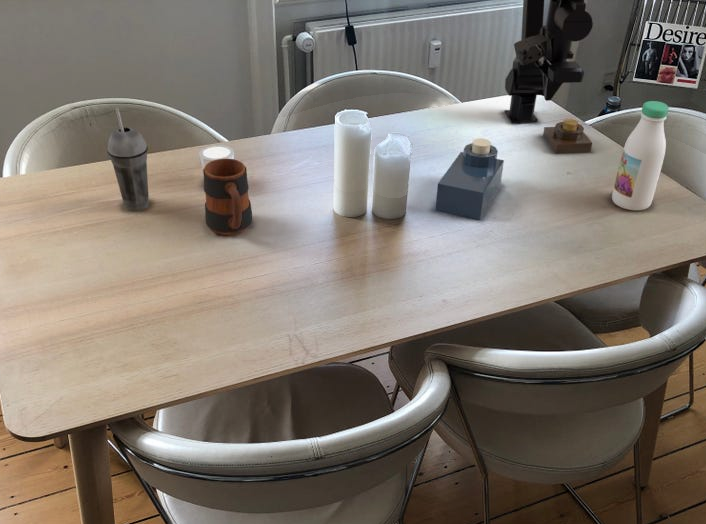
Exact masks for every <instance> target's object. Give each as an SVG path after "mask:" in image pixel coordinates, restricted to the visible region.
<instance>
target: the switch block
mask: <svg viewBox="0 0 706 524" xmlns="http://www.w3.org/2000/svg"><path fill="white" fill-rule="evenodd" d="M562 125H563V121H560V122H556V123H555V125H554V126H544V127H543V133H542V137H543V138H544V140H545V141H546V143H547V144H548V146H549V147H550V148H551V149H552V151H553V152H554V154H556V155H557V154H578V153H579V154H580V153H591V152H592V148H593V142H592V140H591V139H590V138H589V137H588V136H587V134H586V133H585V132H584V131H585V128H584V126H583V125H582V124H580V123H578V125H577V130H575V131H568V130H564V129H562Z"/></svg>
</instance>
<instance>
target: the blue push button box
mask: <svg viewBox="0 0 706 524" xmlns="http://www.w3.org/2000/svg"><path fill="white" fill-rule="evenodd" d="M498 153H499V151H498V148H497V147H495V146H494V145H492V144H491V147H490V153H489V154H481V155H480V154H475V153H473V152H472V142H471V143H469V144H466V145H465V146H464V147H463V151H460V152H459V154H458V155H457V157H456V158H455V159H454V160H453V162H452V163H451V164H450V166H449V168H447V170H446V172H444V174H443V176H442V177H441V179H440V180H439V181H438V182H437V189H436V200H435V209H434V210H435V211H436V212H441V213H446V214H450V215H454V216H459V217H464V218H468V219H472V220H473V219H474V220H476V221H477V220H478V221H481V220H482V218H483V216H484V215H485V213H486V211H487V210H488V207H489V206H490V204H491V203H492V201H493V199H494V197H495V196H496V194H497V192H498V191H499V190H500V188H501V182H502V177H503V170H504V163H505V159H499V158H498Z"/></svg>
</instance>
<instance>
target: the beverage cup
mask: <svg viewBox="0 0 706 524" xmlns="http://www.w3.org/2000/svg"><path fill="white" fill-rule="evenodd" d="M115 113H116V115H117V121H118V125H119V128H117V129H116V130H114V131H113V132H112V133H111V135H110V136H109V138H108V143H107V154H108V156H109V159H110V162H111V163H112V167H113V170H114V173H115V177H116V181H117V184H118V188H119V192H120V196H121V200H122V201H123V205H124V208H125V209H126V210H128V211H130V212H140V211H144V210H145V209H147V208H149V205H150V204H149V197H150V196H149V182H148V163H147V161H148V151H149V148H148V145H147V142H146V140H145V137H143V135H142V134H141V132H139V131H138V130H136V129H134V128H132V127H127V126H125V127H124V126H123V125H124V124H123V122H122V121H123V120H122V117H121V113H120V109H119V107H115Z"/></svg>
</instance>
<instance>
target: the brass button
mask: <svg viewBox="0 0 706 524" xmlns="http://www.w3.org/2000/svg"><path fill="white" fill-rule="evenodd" d="M562 122H563V125H562V129H564V130H568V131H575V130H577V125H578V124H579V121H578V120H577V119H574V118H564V119H563V120H562Z"/></svg>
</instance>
